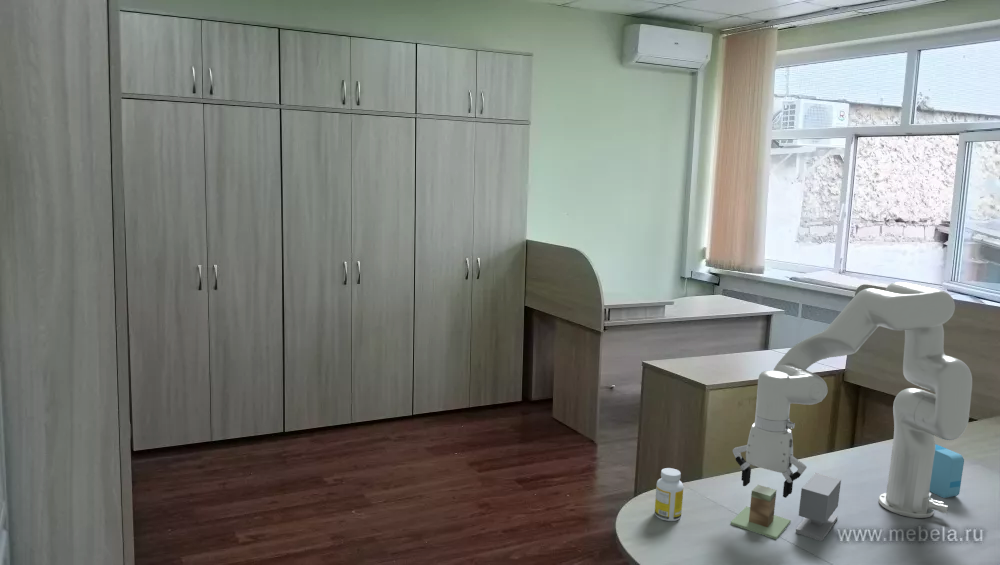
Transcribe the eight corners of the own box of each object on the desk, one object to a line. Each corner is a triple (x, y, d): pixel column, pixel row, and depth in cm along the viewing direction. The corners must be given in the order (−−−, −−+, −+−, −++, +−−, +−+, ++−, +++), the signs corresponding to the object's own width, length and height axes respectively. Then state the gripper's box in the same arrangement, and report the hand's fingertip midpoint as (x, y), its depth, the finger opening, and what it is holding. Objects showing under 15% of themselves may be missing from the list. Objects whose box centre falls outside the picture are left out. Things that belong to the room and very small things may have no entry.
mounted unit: (837, 519, 183) (842, 478, 181) (821, 541, 172) (827, 497, 170) (811, 512, 187) (816, 471, 185) (795, 532, 176) (800, 489, 174)
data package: (959, 498, 198) (965, 456, 197) (947, 500, 197) (953, 457, 195) (920, 479, 210) (925, 439, 208) (908, 481, 208) (914, 441, 206)
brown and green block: (773, 520, 180) (776, 490, 179) (767, 527, 177) (770, 496, 175) (754, 514, 183) (758, 484, 182) (748, 521, 179) (751, 490, 178)
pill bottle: (682, 512, 184) (685, 469, 182) (679, 524, 178) (683, 479, 176) (656, 507, 186) (659, 464, 184) (652, 519, 180) (656, 474, 178)
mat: (790, 522, 181) (790, 520, 181) (776, 539, 172) (776, 537, 172) (746, 508, 187) (746, 506, 187) (730, 524, 179) (730, 521, 179)
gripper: (813, 426, 173) (807, 494, 176) (741, 410, 184) (736, 475, 187) (804, 436, 167) (798, 506, 170) (730, 418, 178) (725, 485, 181)
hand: (765, 489), depth 178 cm, fingers open, 9 cm apart
